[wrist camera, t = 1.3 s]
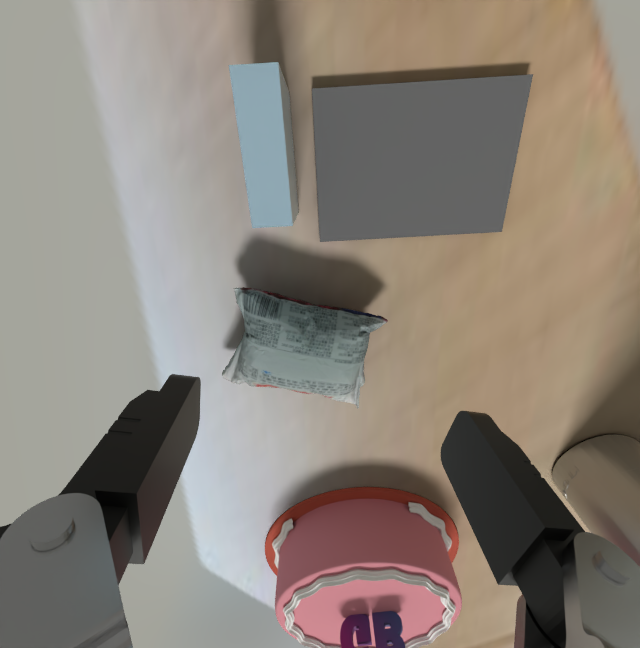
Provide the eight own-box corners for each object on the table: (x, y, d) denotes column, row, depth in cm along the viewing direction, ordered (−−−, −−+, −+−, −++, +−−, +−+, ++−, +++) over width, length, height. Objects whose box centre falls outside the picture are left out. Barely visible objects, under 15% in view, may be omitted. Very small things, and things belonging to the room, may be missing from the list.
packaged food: (353, 389, 29) (360, 427, 25) (227, 364, 28) (210, 400, 24) (383, 305, 26) (397, 332, 21) (239, 272, 24) (222, 294, 20)
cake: (291, 605, 47) (284, 714, 38) (239, 500, 37) (212, 617, 27) (458, 586, 45) (495, 697, 36) (456, 470, 35) (508, 584, 25)
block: (289, 92, 19) (278, 62, 14) (298, 212, 22) (292, 225, 17) (253, 94, 19) (228, 65, 14) (268, 214, 22) (252, 227, 17)
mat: (526, 77, 19) (532, 74, 18) (497, 230, 23) (501, 231, 22) (311, 90, 19) (311, 88, 19) (319, 240, 23) (320, 241, 22)
